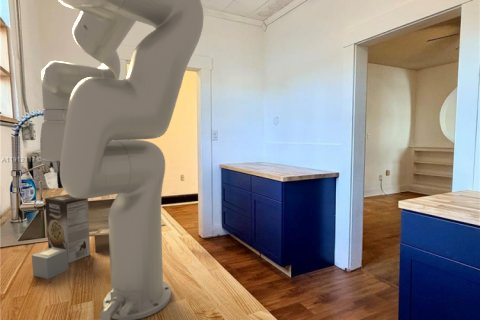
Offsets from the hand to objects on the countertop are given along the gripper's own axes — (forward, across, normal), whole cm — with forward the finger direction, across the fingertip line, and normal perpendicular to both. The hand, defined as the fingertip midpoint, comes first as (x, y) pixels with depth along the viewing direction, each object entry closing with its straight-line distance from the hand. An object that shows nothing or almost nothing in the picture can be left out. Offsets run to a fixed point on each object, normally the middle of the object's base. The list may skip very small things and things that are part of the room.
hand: (65, 187), depth 74 cm
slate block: (+19, -3, +9) cm, 21 cm away
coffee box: (+19, -1, 0) cm, 19 cm away
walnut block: (+19, -8, -6) cm, 21 cm away
